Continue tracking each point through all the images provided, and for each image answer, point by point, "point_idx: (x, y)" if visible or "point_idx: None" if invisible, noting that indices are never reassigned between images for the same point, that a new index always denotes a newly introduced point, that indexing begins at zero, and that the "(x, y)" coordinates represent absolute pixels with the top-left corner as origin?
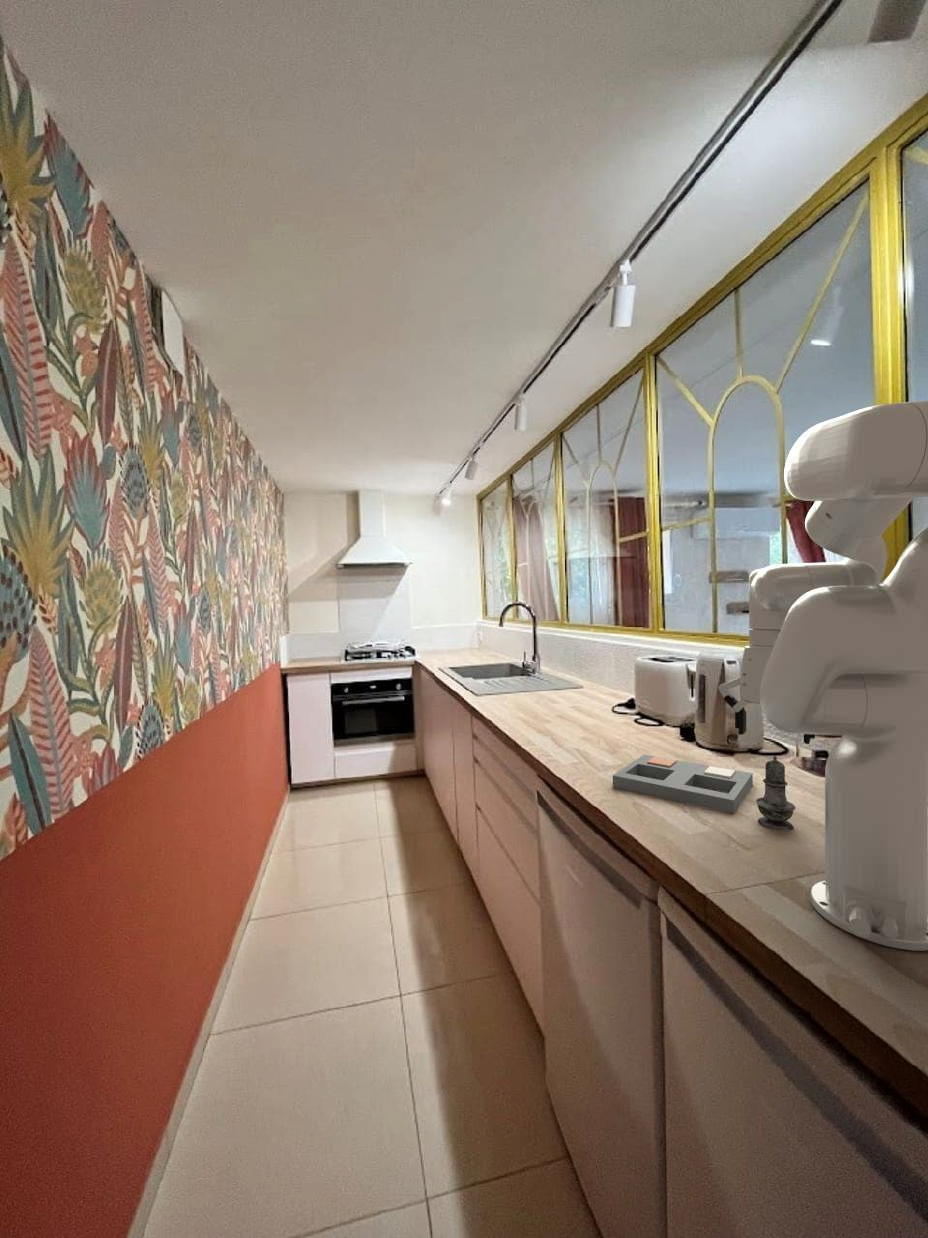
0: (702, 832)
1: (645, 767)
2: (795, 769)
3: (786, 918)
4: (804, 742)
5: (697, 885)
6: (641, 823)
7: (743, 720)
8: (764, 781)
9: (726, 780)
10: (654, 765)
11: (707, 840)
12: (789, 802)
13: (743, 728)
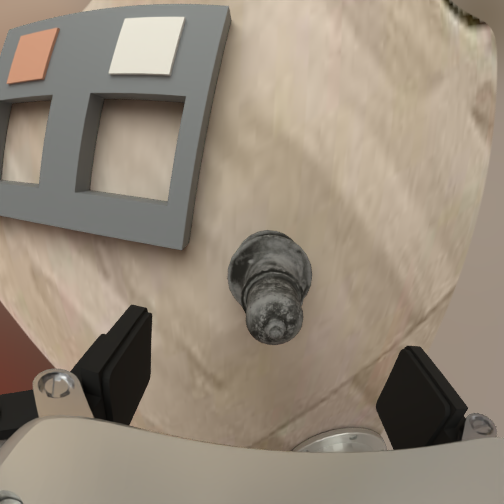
0: None
1: (9, 100)
2: None
3: None
4: (378, 405)
5: None
6: (70, 352)
7: (129, 415)
8: (244, 308)
9: (161, 94)
10: (19, 88)
11: (163, 379)
12: (302, 254)
13: (142, 389)
